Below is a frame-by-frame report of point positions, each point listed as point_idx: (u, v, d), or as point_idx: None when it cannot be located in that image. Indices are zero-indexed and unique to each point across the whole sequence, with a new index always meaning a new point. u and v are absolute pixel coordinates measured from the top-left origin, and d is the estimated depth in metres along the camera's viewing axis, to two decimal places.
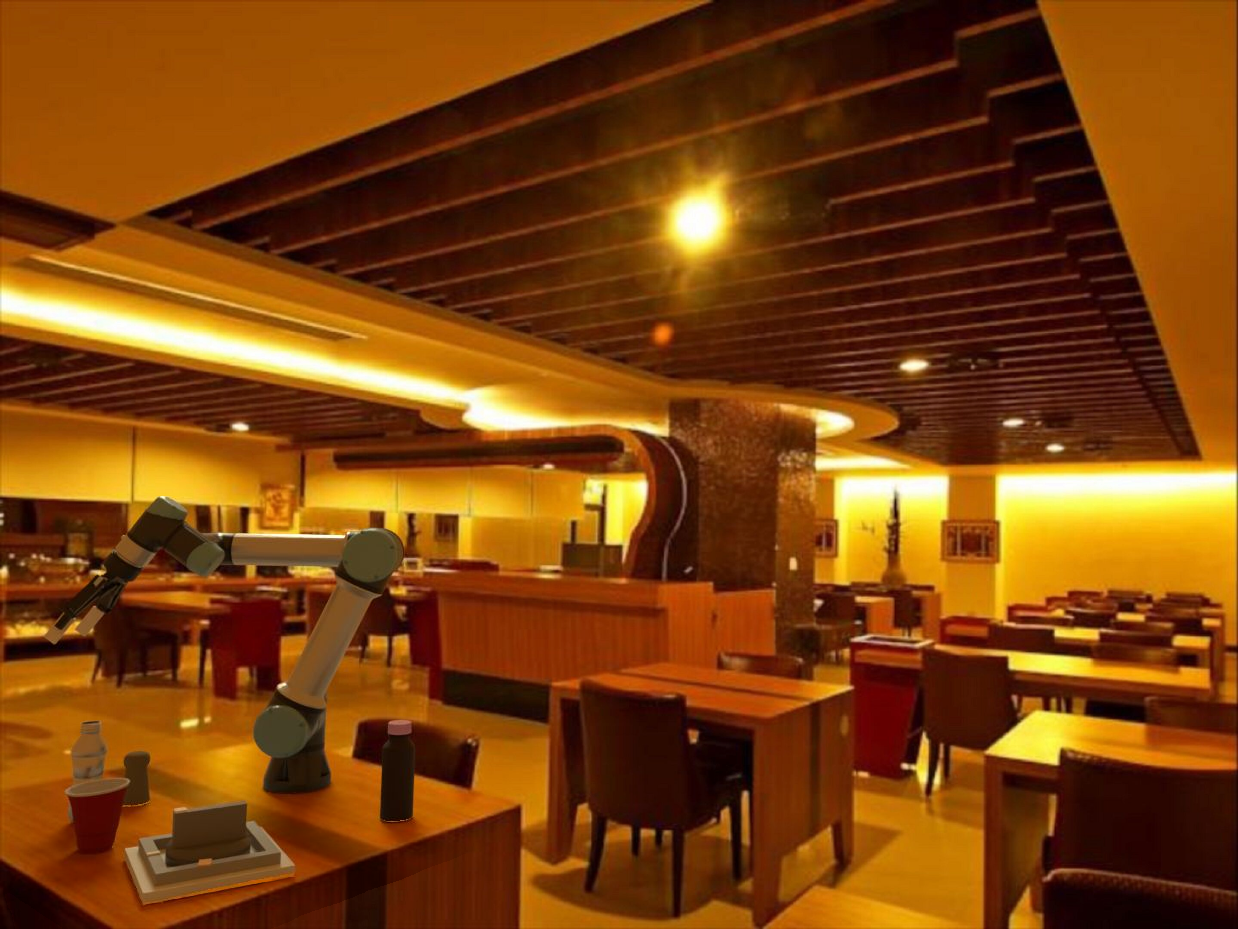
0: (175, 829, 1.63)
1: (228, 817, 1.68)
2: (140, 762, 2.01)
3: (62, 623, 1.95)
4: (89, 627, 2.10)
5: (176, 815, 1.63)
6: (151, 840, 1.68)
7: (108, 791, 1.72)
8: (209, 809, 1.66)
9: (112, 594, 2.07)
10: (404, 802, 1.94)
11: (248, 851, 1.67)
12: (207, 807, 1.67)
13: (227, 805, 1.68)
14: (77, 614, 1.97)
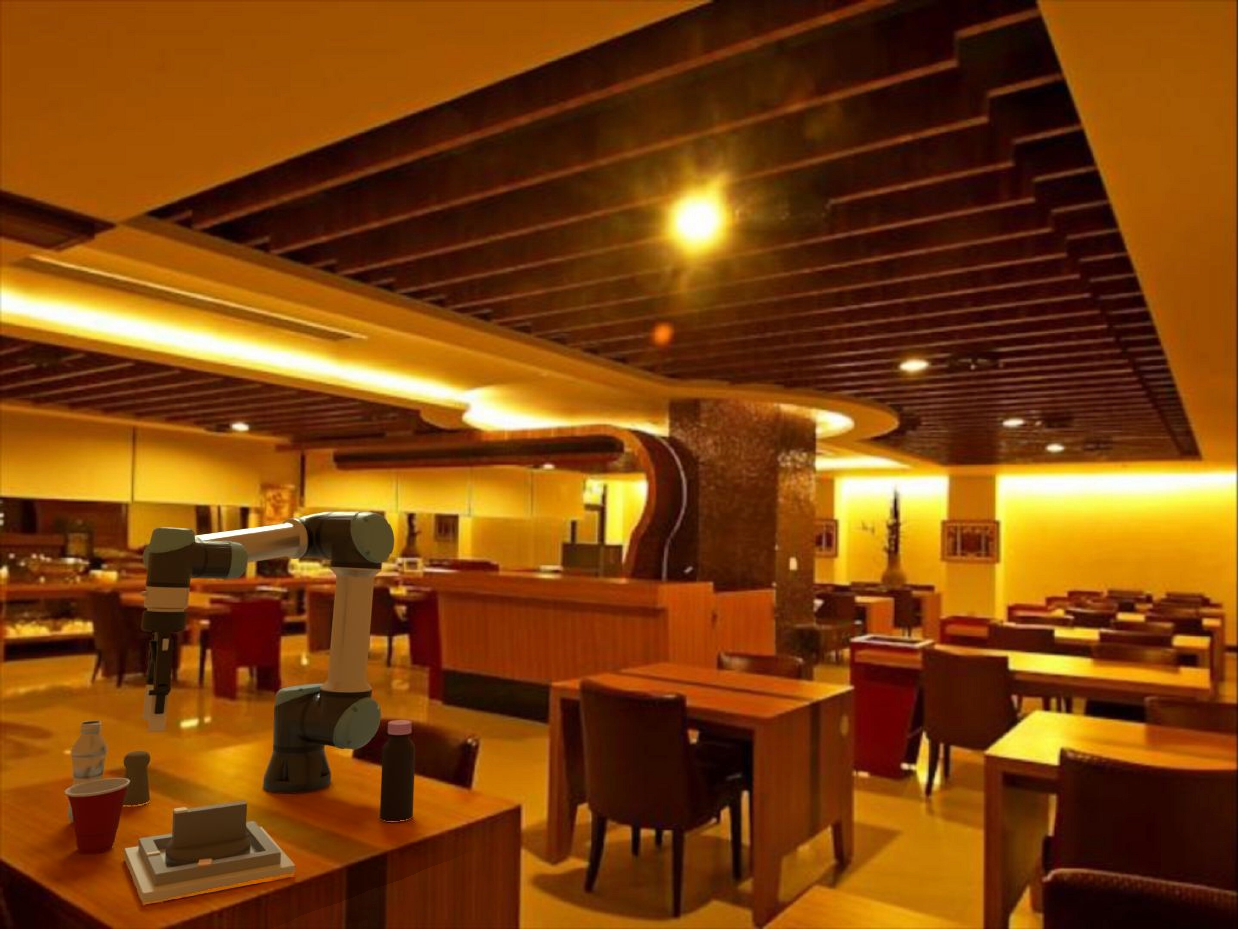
0: (175, 829, 1.63)
1: (228, 817, 1.68)
2: (140, 762, 2.01)
3: (161, 705, 1.65)
4: None
5: (176, 815, 1.63)
6: (151, 840, 1.68)
7: (108, 791, 1.72)
8: (209, 809, 1.66)
9: None
10: (404, 802, 1.94)
11: (248, 851, 1.67)
12: (207, 807, 1.67)
13: (227, 805, 1.68)
14: None
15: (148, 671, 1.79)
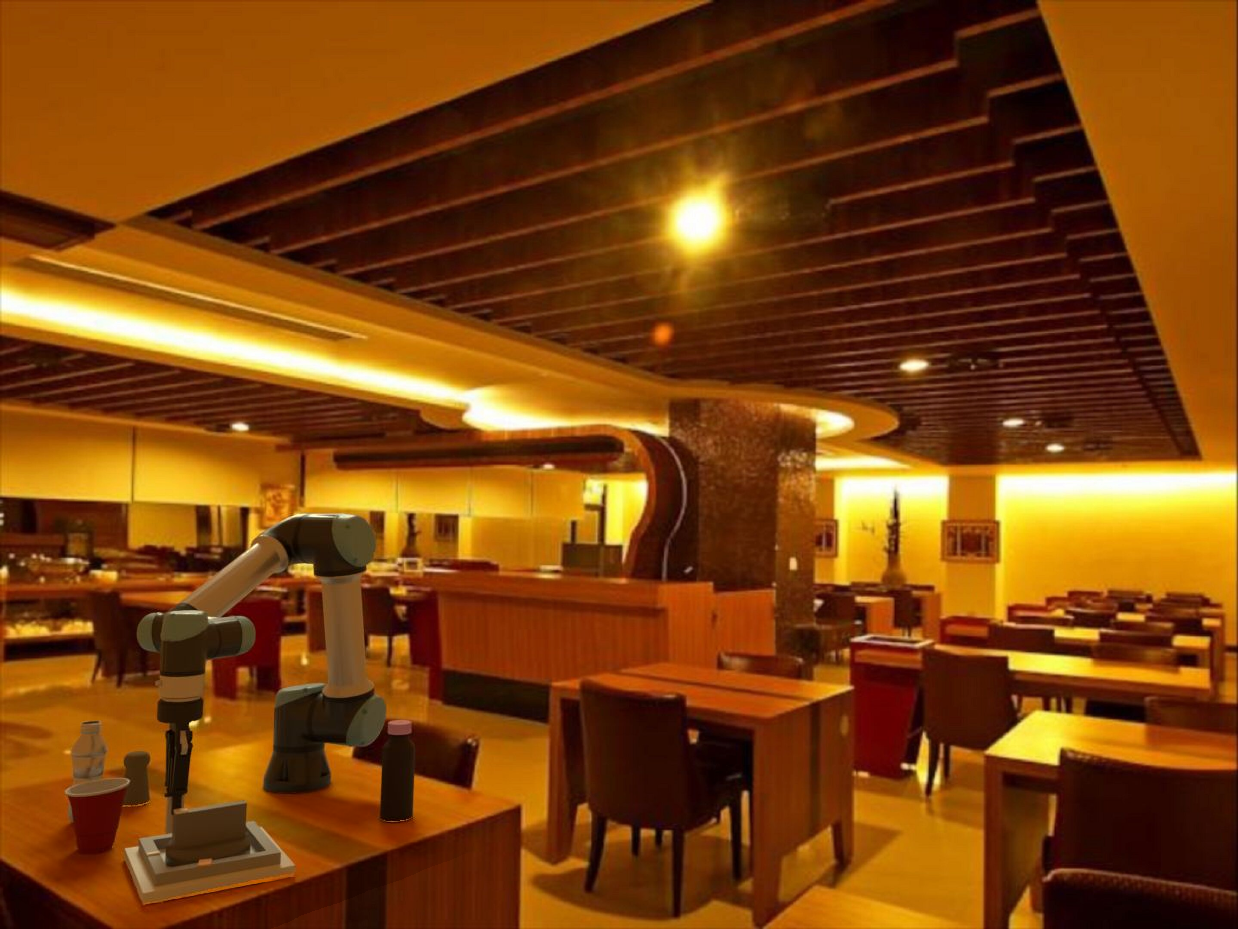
0: (176, 830, 1.62)
1: (228, 817, 1.68)
2: (140, 762, 2.01)
3: (178, 806, 1.65)
4: None
5: (177, 816, 1.63)
6: (151, 840, 1.68)
7: (108, 791, 1.72)
8: (209, 809, 1.66)
9: None
10: (404, 802, 1.94)
11: (249, 850, 1.67)
12: (207, 807, 1.67)
13: (227, 805, 1.68)
14: None
15: (167, 775, 1.68)
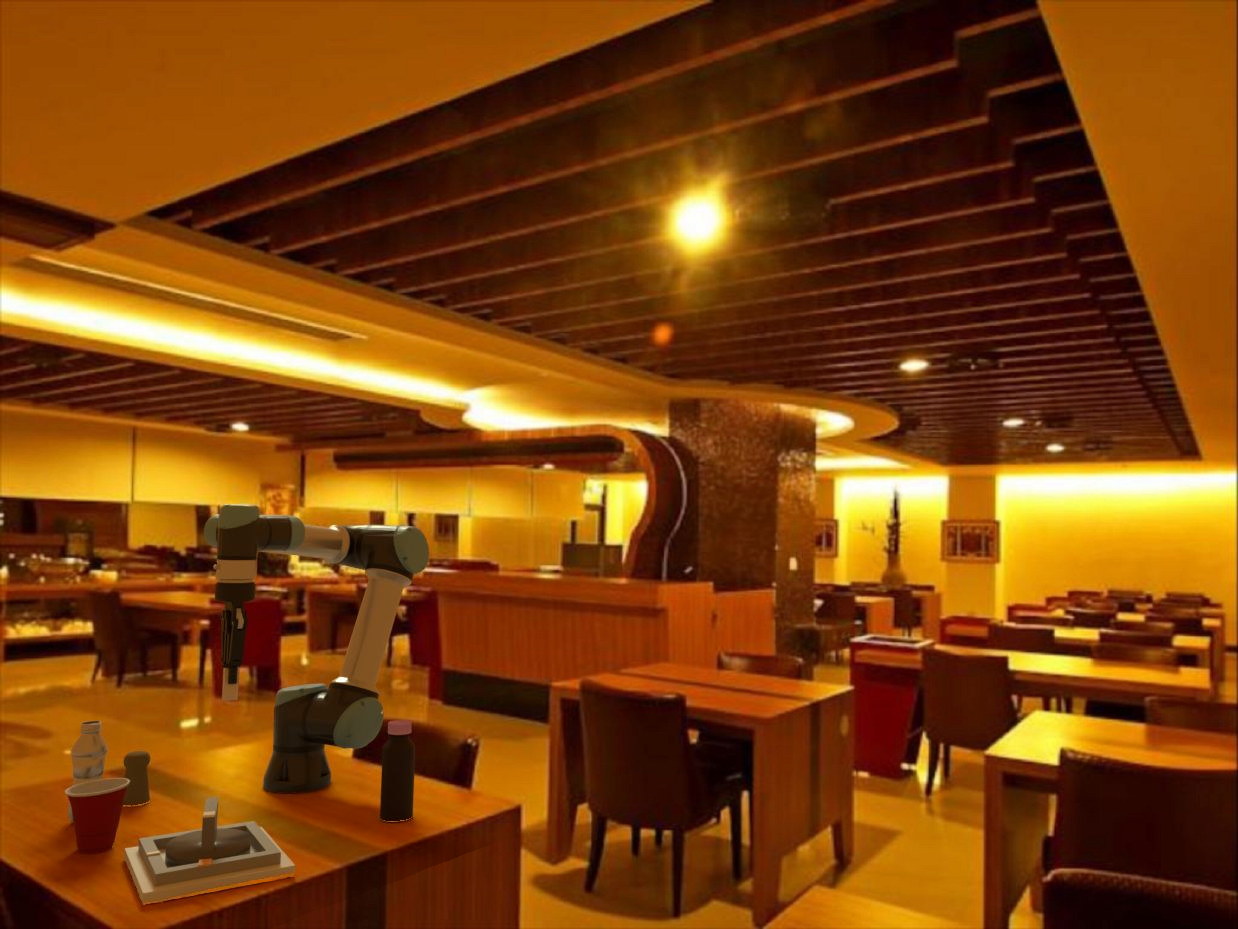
0: (214, 832, 1.62)
1: None
2: (140, 762, 2.01)
3: (234, 676, 1.84)
4: None
5: (215, 818, 1.62)
6: (151, 840, 1.68)
7: (108, 791, 1.72)
8: (216, 808, 1.67)
9: None
10: (404, 802, 1.94)
11: None
12: (209, 808, 1.66)
13: (214, 802, 1.70)
14: None
15: (223, 650, 1.88)
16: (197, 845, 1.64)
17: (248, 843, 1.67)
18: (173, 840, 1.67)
